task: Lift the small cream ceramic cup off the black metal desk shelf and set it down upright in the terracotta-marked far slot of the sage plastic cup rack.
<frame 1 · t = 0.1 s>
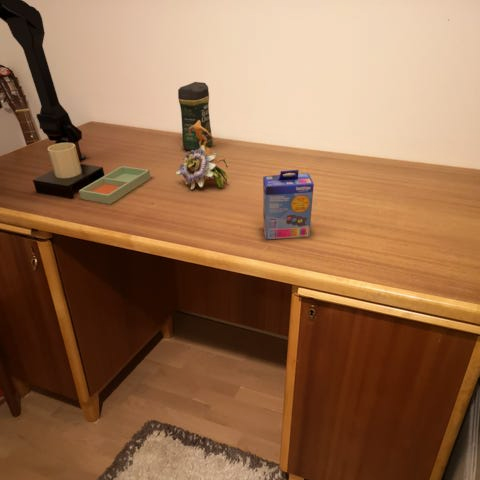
passion flower: (204, 185, 124), on the table
ink cartridge box: (286, 234, 100), on the table
figurine: (204, 162, 137), on the table
coffee jar: (198, 148, 147), on the table
cup: (68, 173, 124), point 3 cm above the table, touching shelf
rack: (117, 188, 124), on the table
shelf: (71, 185, 126), on the table
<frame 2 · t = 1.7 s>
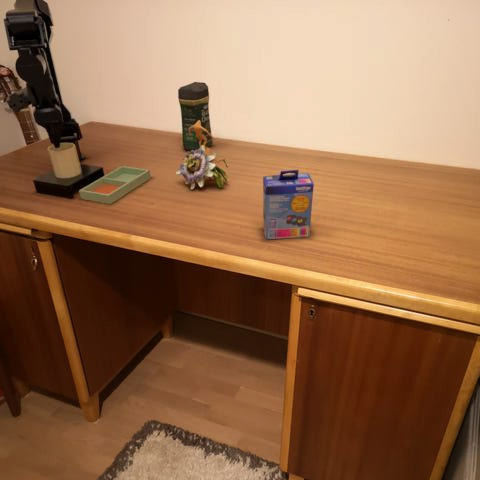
hand: (56, 142, 119), 12 cm above the table, tool pointing down, fingers open, 9 cm apart
nothing on the table moved.
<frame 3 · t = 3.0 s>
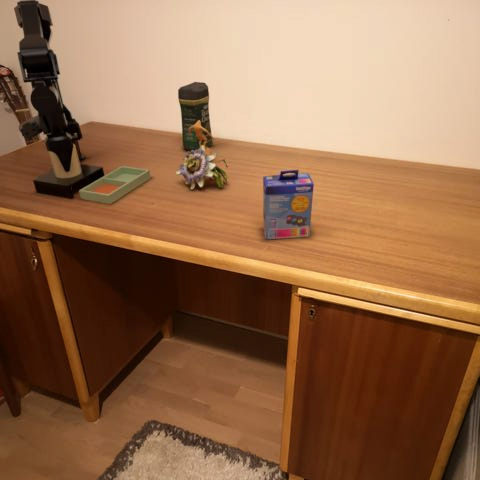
hand: (66, 166, 123), 5 cm above the table, tool pointing down, fingers closed on cup, 7 cm apart
cup: (68, 173, 124), point 4 cm above the table, touching gripper, shelf
everything else where it was.
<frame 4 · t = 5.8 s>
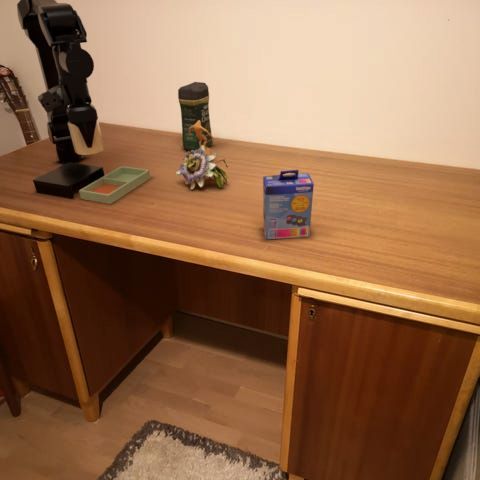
hand: (88, 143, 114), 13 cm above the table, tool pointing down, fingers closed on cup, 7 cm apart
cup: (89, 150, 115), point 11 cm above the table, touching gripper
everything else where it was.
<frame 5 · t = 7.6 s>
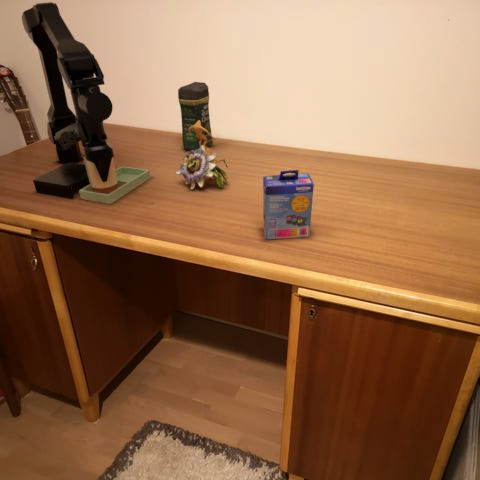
hand: (102, 176, 118), 5 cm above the table, tool pointing down, fingers closed on cup, 7 cm apart
cup: (104, 183, 119), point 3 cm above the table, touching gripper
everything else where it was.
when the fingers open (2 cm above the table, at t = 8.9 s): cup stays where it is, resting on rack.
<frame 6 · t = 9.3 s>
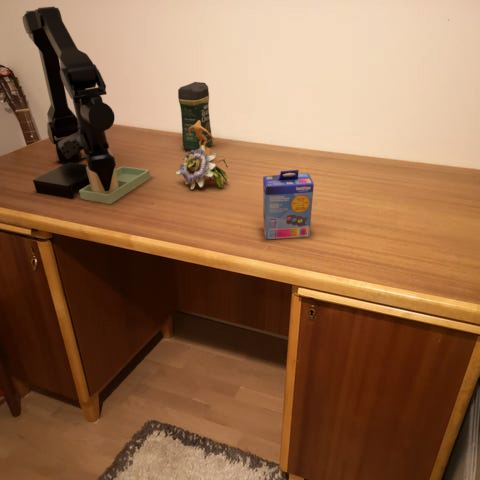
hand: (104, 184, 119), 3 cm above the table, tool pointing down, fingers open, 9 cm apart
cup: (106, 191, 120), point 1 cm above the table, touching rack
everything else where it was.
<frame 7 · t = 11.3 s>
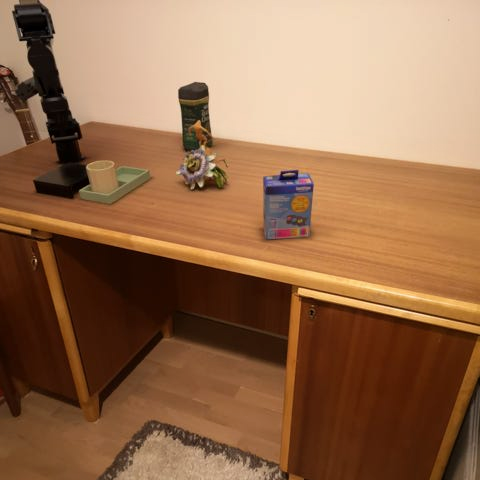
hand: (61, 130, 123), 13 cm above the table, tool pointing down, fingers open, 9 cm apart
nothing on the table moved.
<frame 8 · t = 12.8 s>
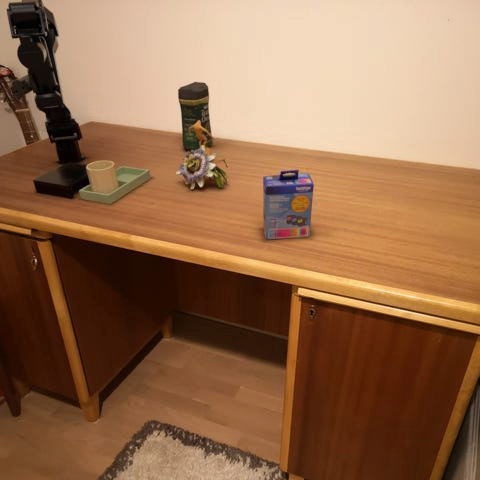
hand: (56, 128, 124), 13 cm above the table, tool pointing down, fingers open, 9 cm apart
nothing on the table moved.
at the end: cup 0.0 cm from the target spot in the rack, point 0.7 cm above the rack's base; cup tilted 0°; the gripper is holding nothing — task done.
